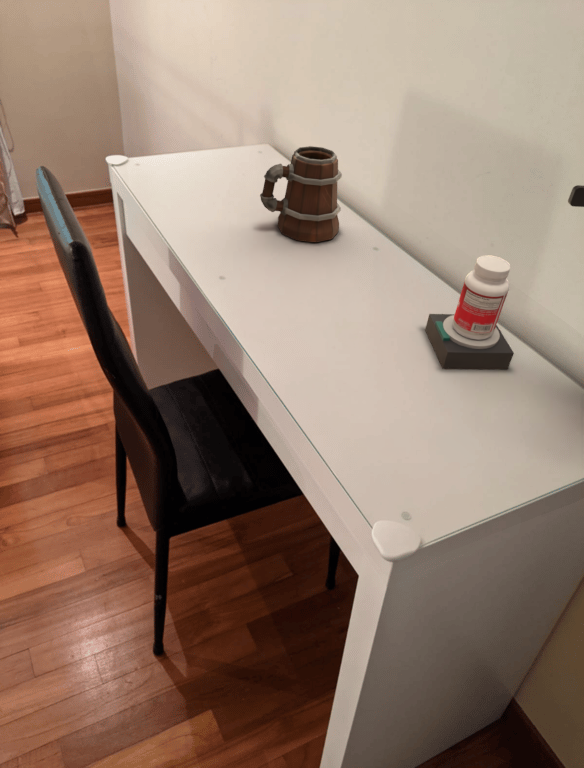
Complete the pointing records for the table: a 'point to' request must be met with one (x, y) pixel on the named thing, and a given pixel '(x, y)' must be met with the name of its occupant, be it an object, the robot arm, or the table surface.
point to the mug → (306, 195)
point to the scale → (466, 346)
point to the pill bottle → (482, 298)
